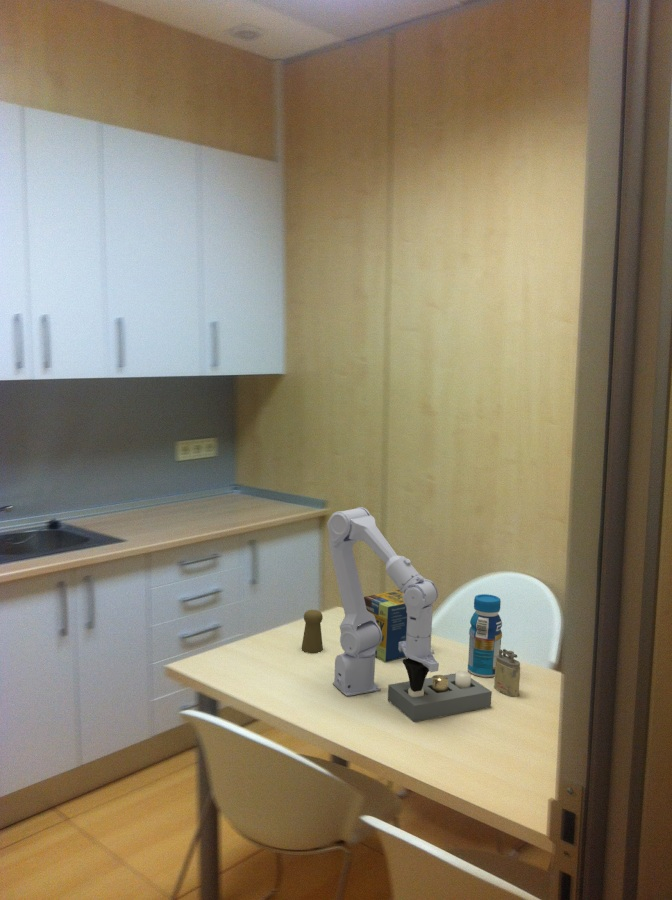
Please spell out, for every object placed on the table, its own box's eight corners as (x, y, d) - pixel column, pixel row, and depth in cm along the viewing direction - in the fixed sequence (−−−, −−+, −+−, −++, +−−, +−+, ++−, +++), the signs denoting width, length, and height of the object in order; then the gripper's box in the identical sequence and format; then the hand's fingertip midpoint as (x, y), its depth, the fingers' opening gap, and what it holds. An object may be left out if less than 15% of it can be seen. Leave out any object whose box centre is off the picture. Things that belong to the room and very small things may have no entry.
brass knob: (437, 699, 176) (438, 681, 176) (428, 693, 180) (429, 676, 179) (450, 697, 178) (451, 679, 177) (441, 691, 181) (442, 673, 181)
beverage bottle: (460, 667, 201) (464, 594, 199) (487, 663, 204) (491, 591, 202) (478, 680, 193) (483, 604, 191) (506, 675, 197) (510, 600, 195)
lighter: (521, 695, 185) (524, 655, 184) (510, 698, 183) (513, 658, 182) (500, 684, 191) (503, 646, 190) (489, 687, 189) (492, 648, 188)
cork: (322, 653, 207) (323, 614, 206) (300, 653, 208) (301, 614, 206) (323, 645, 213) (324, 607, 212) (301, 645, 214) (303, 607, 212)
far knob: (460, 695, 179) (461, 677, 179) (451, 689, 182) (452, 672, 182) (473, 693, 181) (474, 675, 180) (464, 687, 184) (465, 670, 183)
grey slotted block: (413, 722, 169) (414, 705, 169) (387, 700, 180) (388, 684, 179) (490, 707, 178) (491, 691, 178) (461, 686, 189) (462, 672, 188)
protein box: (360, 650, 211) (362, 596, 209) (402, 640, 220) (404, 588, 218) (385, 663, 203) (387, 606, 201) (427, 651, 212) (429, 597, 210)
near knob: (412, 712, 174) (413, 694, 173) (404, 705, 177) (405, 688, 177) (426, 709, 175) (426, 691, 175) (417, 703, 179) (418, 685, 178)
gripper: (451, 642, 169) (448, 700, 171) (417, 621, 182) (414, 675, 184) (424, 646, 166) (421, 705, 168) (391, 625, 179) (389, 680, 181)
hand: (416, 690), depth 176 cm, fingers closed, pressing on near knob
